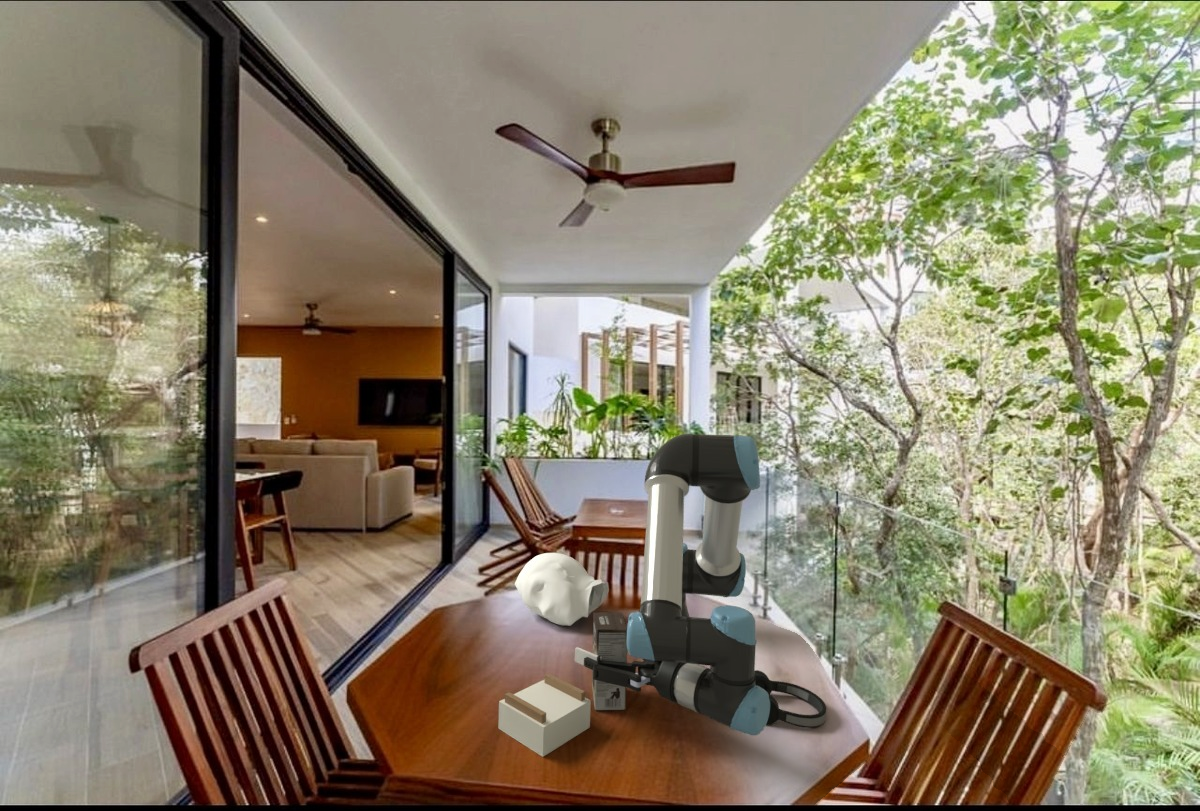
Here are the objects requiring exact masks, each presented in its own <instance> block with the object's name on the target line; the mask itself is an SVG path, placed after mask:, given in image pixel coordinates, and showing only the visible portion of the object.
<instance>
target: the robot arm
mask: <svg viewBox="0 0 1200 811" xmlns="http://www.w3.org/2000/svg"><path fill="white" fill-rule="evenodd" d="M757 444H758V443H757V441H756V440H755V438H753V437H752V436H749V435H747V436H746V435H739V434H734V435H732V434H701V433H700V434H699V433H698V434H697V433H683V434H679V435H676V436H674V437H671V438H670V439H668V440H667V441H666V442H664V444H662V445H661V446H660V447H659V448H658V449H657V451H656V452H655V453H654V455H653V456H652V458H651V460H650V461H649V463H648V466H647V469H646V471H645V476H644V486H643V489H644V491H645V492H646V494H647V495H648V498H647V512H646V526H645V527H646V528H645V540H644V552H643V554H644V556H643V569H642V580H641V581H642V582H641V595H640V596H641V597H640V598H641V599H640V608H639V610H638V611H636V612H630V614H629V616H628V618H627V619H628V622H627V624H626V626H627V654H628V655H630V656H631V657H633V658H637V659H642V661H640V660H639V661H638V660H632V662H627V663H625V662H616V661H606V660H602V657H600V656H598V655H595V654H593V652H590V651H588V650H585V649H583V648H580V647H578V646H576V647H575V648H574V662H575V663H578V665H582V666H584V667H585V668H587V669H590V670H593V679H594V680H598V681H602V682H606V683H610V684H615V685H619V686H623V687H626V689H630V690H633V691H634V692H638V693H639V692H641V691H642V686H643V685H646V686H651V687H654V689H655V690H656V691H657V693H658V695H659V696H660V697H661V698H663V699H666V700H668V701H670V702H672V703H674V704H679V705H680V706H682V707H685V708H686V709H689V710H692V711H694V713H698V714H700V715H702V716H704V717H707V718H709V719H711V720H713V721H715V722H718V723H720V724H721V725H724V726H725V727H726V726H727V727H728V728H730V729H731V730H733V731H734V730H735V731H737V732H740V733H741V734H742V733H743V734H746V735H749V736H752V737H753V736H758V735H760V734H761V732H762V731H764V729H765V728H766V726H767V725H766V723H767V721H768V717H769V712H770V700H769V695H768V693H767V691H766V690H764V689H762V688H761V687H760V686H758V685H757V686H756V684H755V673H754V672H755V669H756V668H755V667H756V645H757V638H756V619H755V616H754V615H753V613H752V612H750V611H749V610H747V609H745V608H742V607H741V606H736V605H724V606H723V605H719V606H716V607H714V608H713V609H712V611H711V614H710V616H709V617H710V618H705V617H696V616H690V613H689V609H688V606H687V594H689V595H699V596H700V595H703V596H713V597H723V598H730V597H731V598H733V597H734V598H736V597H739V596H740V595H741V594H742V592H743V590H744V587H745V586H744V585H745V579H746V573H747V572H746V570H747V568H746V567H747V566H746V558H745V554H743V553H741V552H740V551H739V549H738V548H737V544H738V536H739V529H740V522H741V515H742V507H743V501H745V500H746V499H747V498H748V497H749V495H750V494H751V491H754V490H758V489H760V487H761V474H760V462H759V453H758V452H759V451H758V445H757ZM690 487H699V488H700V490H701V493H702V494H703V495H704V496H705V497H704V498H705V500H704V513H703V527H702V529H703V530H702V542H701V543H700V544H698V546H697V548H696V549H690V548H689V547H688V545H687V544H686V543H685V542H684V524H685V522H684V521H685V520H684V518H685V517H684V516H685V515H684V513H685V510H684V509H685V497H686V496H687V495H688V494H689V492H690ZM688 548H689V549H688ZM706 666H709V668H708V667H706Z"/></svg>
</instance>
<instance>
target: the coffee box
mask: <svg viewBox="0 0 1200 811" xmlns="http://www.w3.org/2000/svg"><path fill="white" fill-rule="evenodd" d="M592 615H593V618H592V620H593V624H592V625H593V627H592V629H593V630H592V653H593V654H595V655H598V656H600V657H602V660H606V661H616V662H625V663H628V652H627V623H626V621H625V618H624V615H623V613H622V612H605V611H604V612H603V611H602V612H593V614H592ZM591 675H592V676H591V688H592V691H591V692H592V698H593V705H594V706H593V707H594V710H595V711H618V710H619V711H620V710H621V711H623V710H626V703H627V702H626V698H627V696H626V693H627V687H623V686H619V685H615V684H610V683H606V682H602V681H598V680H594V679H593V670H592V671H591Z"/></svg>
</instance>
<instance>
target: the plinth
mask: <svg viewBox="0 0 1200 811" xmlns="http://www.w3.org/2000/svg"><path fill="white" fill-rule="evenodd" d="M498 702H499V703H498V722H497V723H498V724H497V725H498V728H497V729H499V730H500V731H501V732H503V733H504V734H506V735H507V736H508V737H510V738H513V739H514V740H515V741H517V742H518V743H521V744H522V745H523V746H525V747H527V749H529V750H531V751H533V752H534V753H536V754H537V755H539V756H541V757H542V758H544V757H545V756H547V755H548V754H550V753H552V752H553V751H554V750H556V749H558V748H560V747H561V746H563V745H564V744H566V743H567V742H569V741H570V740H572V739H574V738H575V737H576V736H579V735H580V734H582V733H583V732H585V731H586V730H587V729H589V728H591V700H590V699H589V698H586V691H585V690H583V689H581V688H580V687H577V686H574V685H573V684H570V683H569V682H566V681H565V680H563V679H560V678H559V677H556V676H554V675H552V674H550V673H546V674H544V679H543V680H540V681H537V682H536V683H534V684H531V685H530V686H528V687H526V688H523V689H522V690H520V691H518V692H515V693H512V692H510V691H508V692H507V693H504V699H501V700H499V701H498Z"/></svg>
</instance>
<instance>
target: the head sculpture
mask: <svg viewBox="0 0 1200 811" xmlns="http://www.w3.org/2000/svg"><path fill="white" fill-rule="evenodd" d="M514 586H515V587H516V589H517V591H518V593H519V596H520V597H521V600H522V602H523V604H524V605H525V606H526V607H527V608H528V609H529V611H530V612H531V613H533V614H536V615H538V616H540V617H542V618H544V619H546V620H548V621H549V622H551V623H553V624H556V625H559V626H563V627H564V626H567V627H571V626H572V625H573V624H575V622H577V621H579V620H580V619H581V618H588V617H589V616H590V614H591V613H592V612H594V611H595V610H596V609H598V608H599V607H600V606H601V605H602V604H603V602H605V600H606V599H607V596H608V593H609V591H610V589H609V582H608V581H606V582H603V581H602V579H601V578H600V579H595V578H594V576H591V575H589V573H588V572H587V570H586V569H585V567H584V566H583V564H581V563H580V562H579V561H578V560H576V559H574V558H573V557H571V556H570V555H566V554H563V553H560V552H545V553H541V554H538V555H536V556H534V557H533V558H532V559H530V560H529V561H528V562H527V563H525V565H524V567H523V568H522V569H521V570H520V573H519V574H518V576H517V578H516V580H515V582H514Z"/></svg>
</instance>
